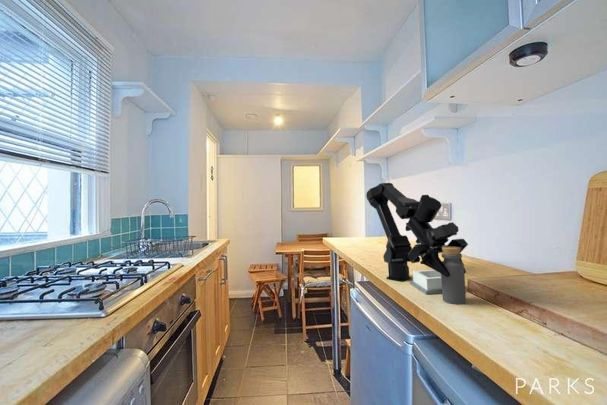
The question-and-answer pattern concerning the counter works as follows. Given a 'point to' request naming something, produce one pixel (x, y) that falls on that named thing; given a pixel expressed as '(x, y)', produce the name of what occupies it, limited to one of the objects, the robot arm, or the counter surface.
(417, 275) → the holder
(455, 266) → the bottle
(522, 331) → the counter surface
